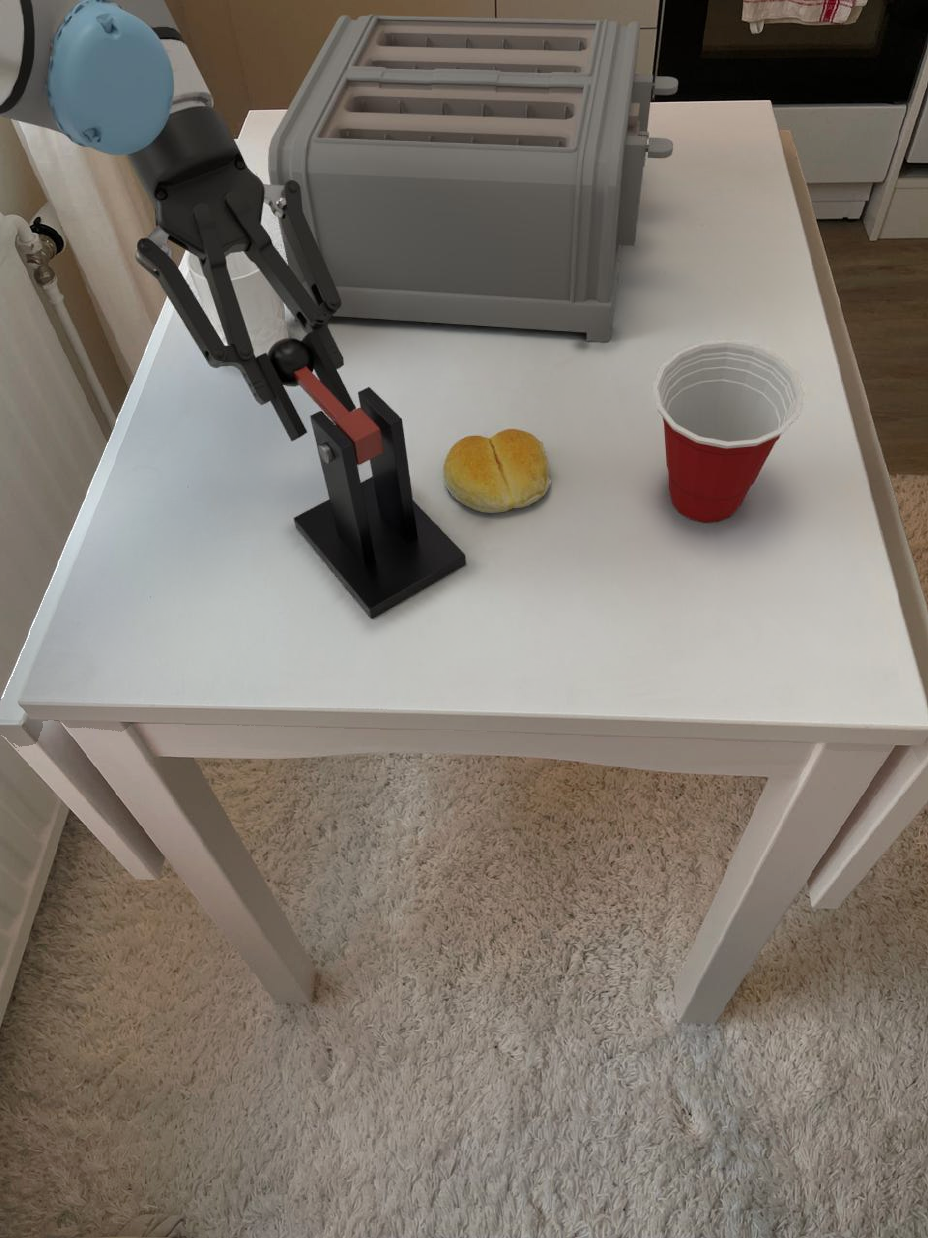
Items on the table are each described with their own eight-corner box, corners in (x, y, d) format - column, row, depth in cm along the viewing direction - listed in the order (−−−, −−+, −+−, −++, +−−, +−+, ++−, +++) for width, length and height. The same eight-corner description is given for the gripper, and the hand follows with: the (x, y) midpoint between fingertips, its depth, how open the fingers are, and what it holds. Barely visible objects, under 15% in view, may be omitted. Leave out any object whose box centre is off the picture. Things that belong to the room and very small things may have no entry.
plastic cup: (615, 518, 79) (628, 406, 69) (670, 438, 84) (689, 323, 74) (740, 568, 75) (773, 457, 65) (790, 480, 80) (826, 365, 70)
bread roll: (438, 457, 84) (434, 422, 81) (538, 441, 84) (538, 406, 81) (452, 525, 79) (449, 491, 76) (558, 509, 79) (560, 474, 76)
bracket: (295, 527, 80) (258, 399, 69) (386, 479, 82) (364, 348, 71) (371, 619, 74) (344, 495, 62) (466, 564, 76) (456, 436, 65)
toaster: (649, 345, 91) (673, 169, 77) (293, 321, 96) (255, 151, 82) (664, 175, 109) (685, 7, 95) (362, 162, 114) (340, 0, 100)
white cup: (311, 340, 94) (291, 248, 86) (252, 381, 91) (226, 291, 83) (257, 310, 98) (234, 220, 90) (198, 350, 94) (168, 259, 86)
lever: (263, 377, 75) (253, 340, 72) (303, 359, 76) (295, 321, 73) (351, 476, 69) (344, 439, 66) (393, 454, 70) (388, 417, 67)
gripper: (61, 145, 63) (235, 466, 68) (282, 67, 68) (428, 371, 73) (62, 188, 70) (220, 477, 75) (263, 115, 75) (398, 389, 80)
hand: (323, 424), depth 74 cm, fingers closed on lever, 4 cm apart
